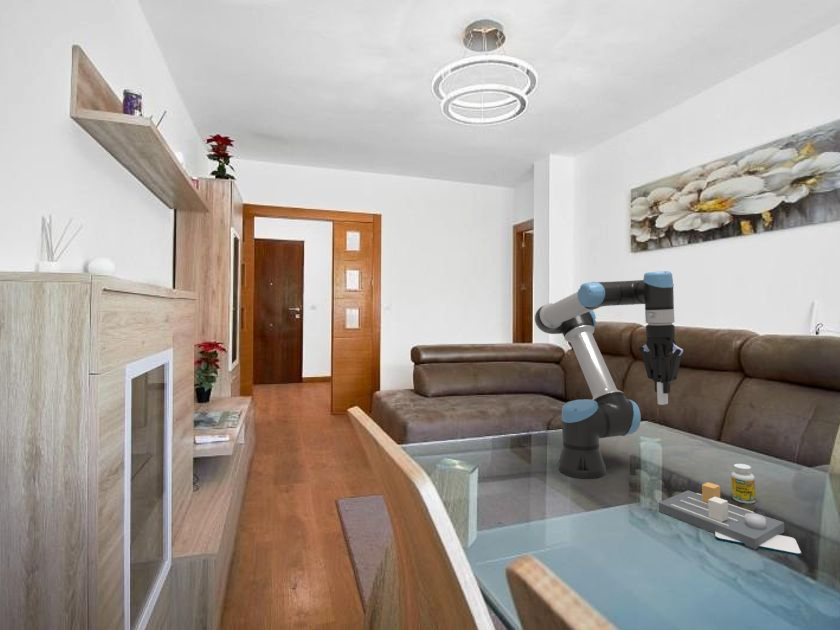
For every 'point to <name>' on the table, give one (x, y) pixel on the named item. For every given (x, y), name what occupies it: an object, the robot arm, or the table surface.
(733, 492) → the supplement bottle
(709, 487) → the slider orange
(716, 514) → the slider ivory
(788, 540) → the smartphone
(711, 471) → the table surface
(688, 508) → the console
